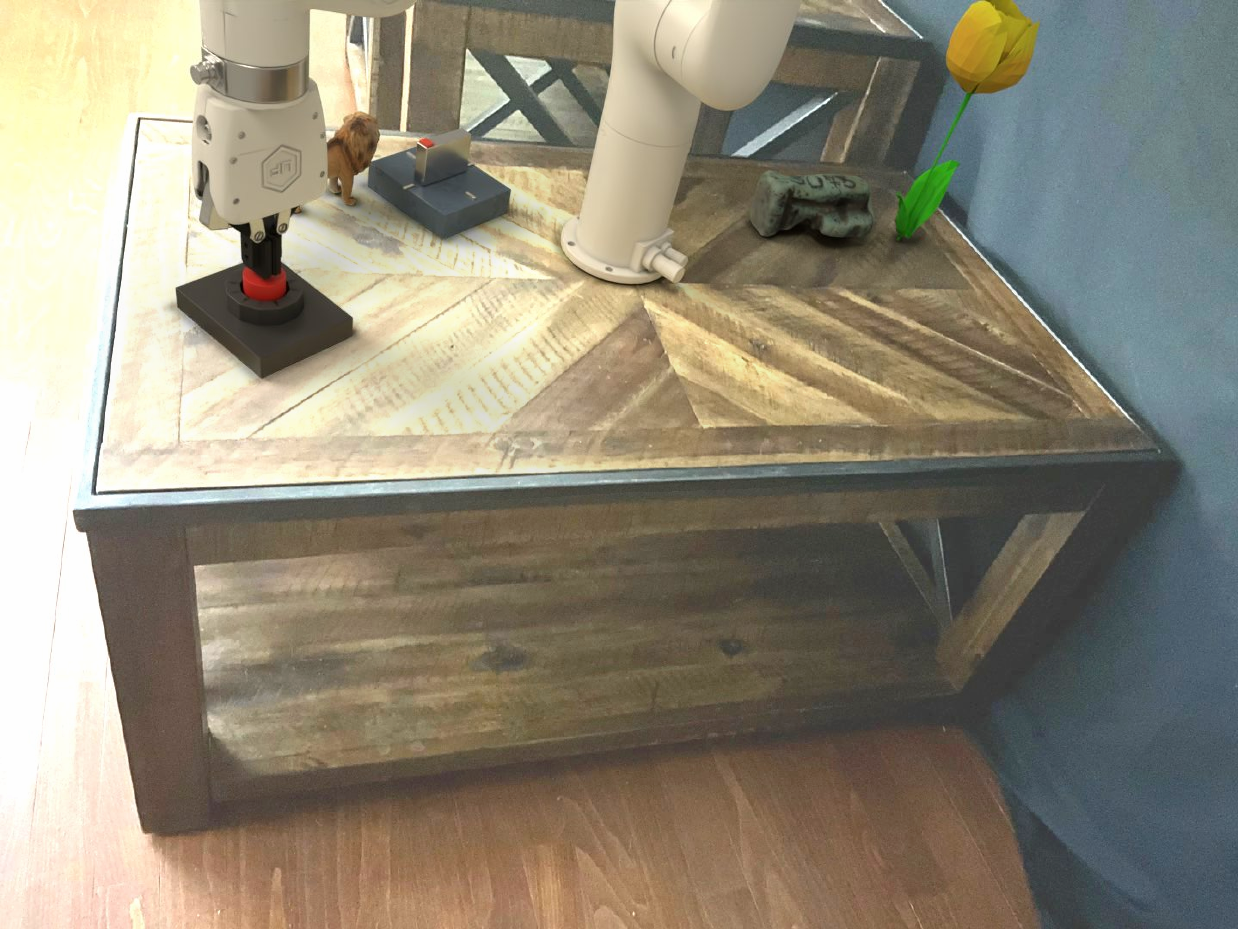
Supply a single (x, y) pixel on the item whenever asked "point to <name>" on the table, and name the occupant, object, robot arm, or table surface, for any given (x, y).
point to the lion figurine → (351, 152)
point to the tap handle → (442, 156)
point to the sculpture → (813, 204)
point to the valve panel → (439, 194)
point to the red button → (264, 286)
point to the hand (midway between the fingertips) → (262, 268)
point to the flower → (972, 88)
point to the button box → (264, 319)
